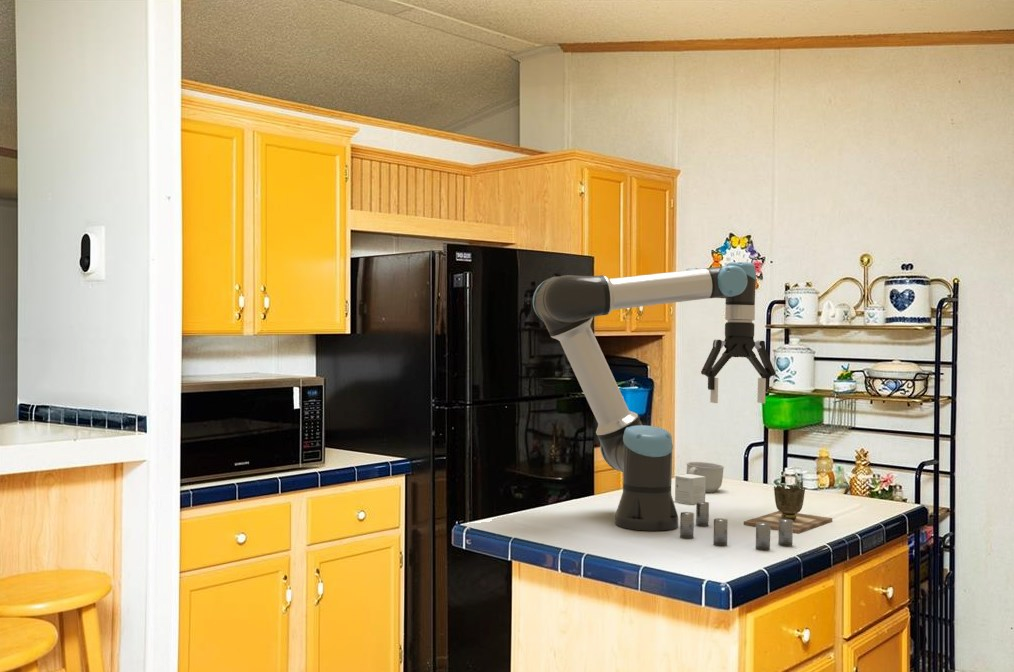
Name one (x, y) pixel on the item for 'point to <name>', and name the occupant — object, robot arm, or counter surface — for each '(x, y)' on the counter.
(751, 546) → the counter surface
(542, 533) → the counter surface
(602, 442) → the robot arm
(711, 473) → the teacup
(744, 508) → the counter surface
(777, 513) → the walnut pad
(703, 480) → the product box
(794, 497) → the cup
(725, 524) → the spacer field
